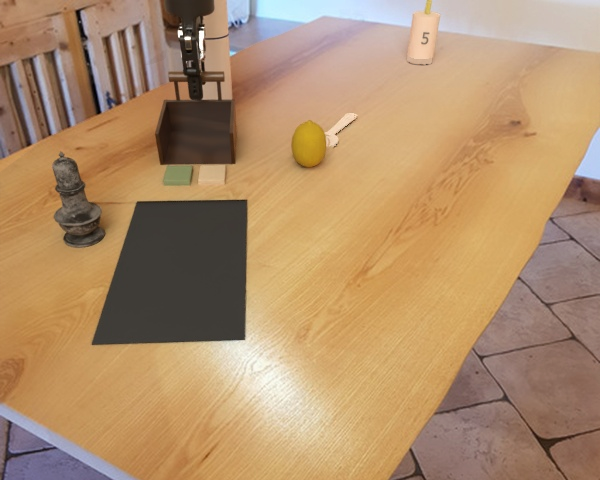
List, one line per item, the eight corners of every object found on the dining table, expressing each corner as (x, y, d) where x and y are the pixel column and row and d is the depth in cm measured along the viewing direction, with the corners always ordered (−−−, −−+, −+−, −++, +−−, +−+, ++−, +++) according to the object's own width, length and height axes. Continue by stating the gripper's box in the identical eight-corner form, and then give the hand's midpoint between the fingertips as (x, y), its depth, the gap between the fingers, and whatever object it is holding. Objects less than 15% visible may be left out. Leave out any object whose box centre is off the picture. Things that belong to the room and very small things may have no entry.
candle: (408, 65, 131) (417, -5, 121) (405, 57, 136) (414, -12, 126) (434, 66, 131) (446, -5, 121) (430, 57, 136) (441, -11, 126)
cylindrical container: (210, 110, 107) (197, -38, 91) (190, 99, 111) (174, -44, 95) (239, 101, 111) (232, -43, 95) (218, 91, 115) (208, -48, 99)
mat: (147, 169, 88) (147, 167, 88) (247, 167, 89) (247, 166, 89) (91, 344, 57) (91, 343, 57) (244, 340, 58) (244, 338, 58)
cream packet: (197, 180, 82) (198, 187, 83) (224, 179, 83) (224, 187, 83) (200, 165, 86) (200, 172, 87) (225, 164, 86) (226, 171, 87)
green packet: (162, 180, 82) (163, 187, 83) (189, 180, 82) (190, 187, 83) (166, 165, 86) (167, 172, 87) (192, 165, 86) (193, 172, 87)
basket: (169, 131, 97) (159, 69, 90) (236, 130, 98) (233, 69, 90) (160, 168, 88) (149, 103, 81) (235, 167, 89) (231, 102, 81)
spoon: (366, 118, 105) (366, 115, 105) (326, 154, 93) (326, 151, 93) (341, 112, 107) (341, 110, 107) (298, 147, 95) (298, 144, 94)
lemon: (303, 179, 86) (304, 130, 81) (284, 165, 90) (284, 118, 84) (332, 171, 88) (335, 123, 83) (312, 158, 92) (314, 111, 87)
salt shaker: (80, 220, 76) (57, 137, 68) (116, 229, 74) (96, 146, 66) (51, 242, 72) (23, 157, 64) (88, 252, 70) (64, 166, 62)
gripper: (166, -32, 86) (179, 77, 97) (154, -13, 75) (170, 107, 86) (214, -32, 86) (222, 77, 97) (209, -13, 76) (218, 107, 86)
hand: (198, 91), depth 92 cm, fingers open, 6 cm apart
